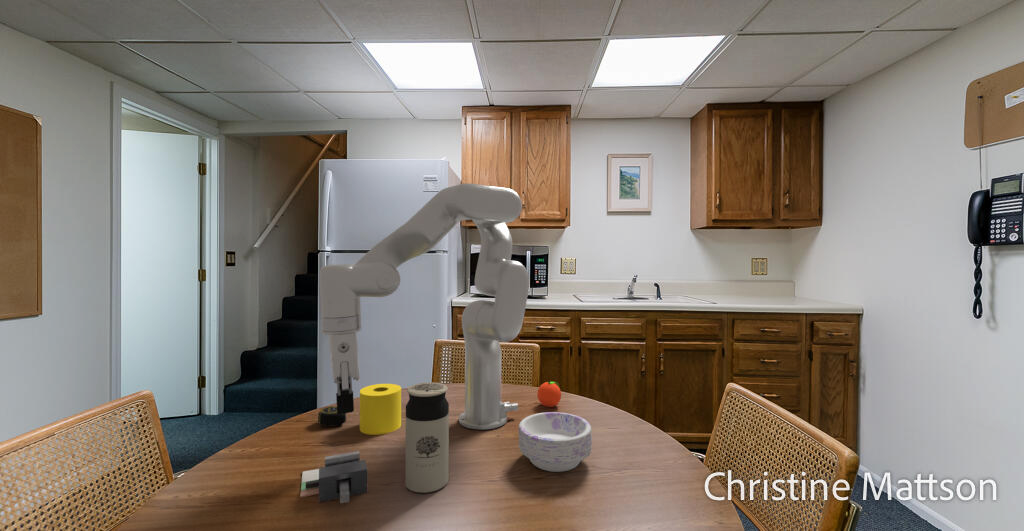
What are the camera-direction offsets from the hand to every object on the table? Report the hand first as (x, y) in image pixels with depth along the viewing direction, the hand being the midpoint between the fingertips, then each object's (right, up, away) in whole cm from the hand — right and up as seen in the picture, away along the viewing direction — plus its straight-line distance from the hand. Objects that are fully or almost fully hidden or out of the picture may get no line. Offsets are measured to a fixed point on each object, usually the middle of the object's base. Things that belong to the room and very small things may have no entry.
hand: (345, 411), depth 87 cm
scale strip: (-3, -11, -8) cm, 14 cm away
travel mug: (+19, -11, -8) cm, 23 cm away
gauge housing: (+4, -11, -11) cm, 16 cm away
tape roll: (+1, -11, +19) cm, 22 cm away
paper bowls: (+44, -11, +1) cm, 45 cm away
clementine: (+46, -11, +35) cm, 59 cm away
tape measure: (-11, -11, +21) cm, 26 cm away
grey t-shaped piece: (+3, -10, -13) cm, 17 cm away
